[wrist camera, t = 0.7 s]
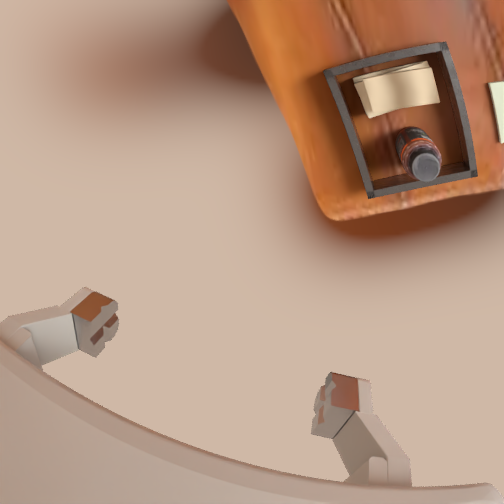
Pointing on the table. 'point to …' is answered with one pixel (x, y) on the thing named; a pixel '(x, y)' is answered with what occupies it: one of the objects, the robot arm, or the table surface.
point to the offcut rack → (447, 66)
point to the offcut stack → (397, 88)
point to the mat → (498, 106)
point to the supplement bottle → (418, 154)
